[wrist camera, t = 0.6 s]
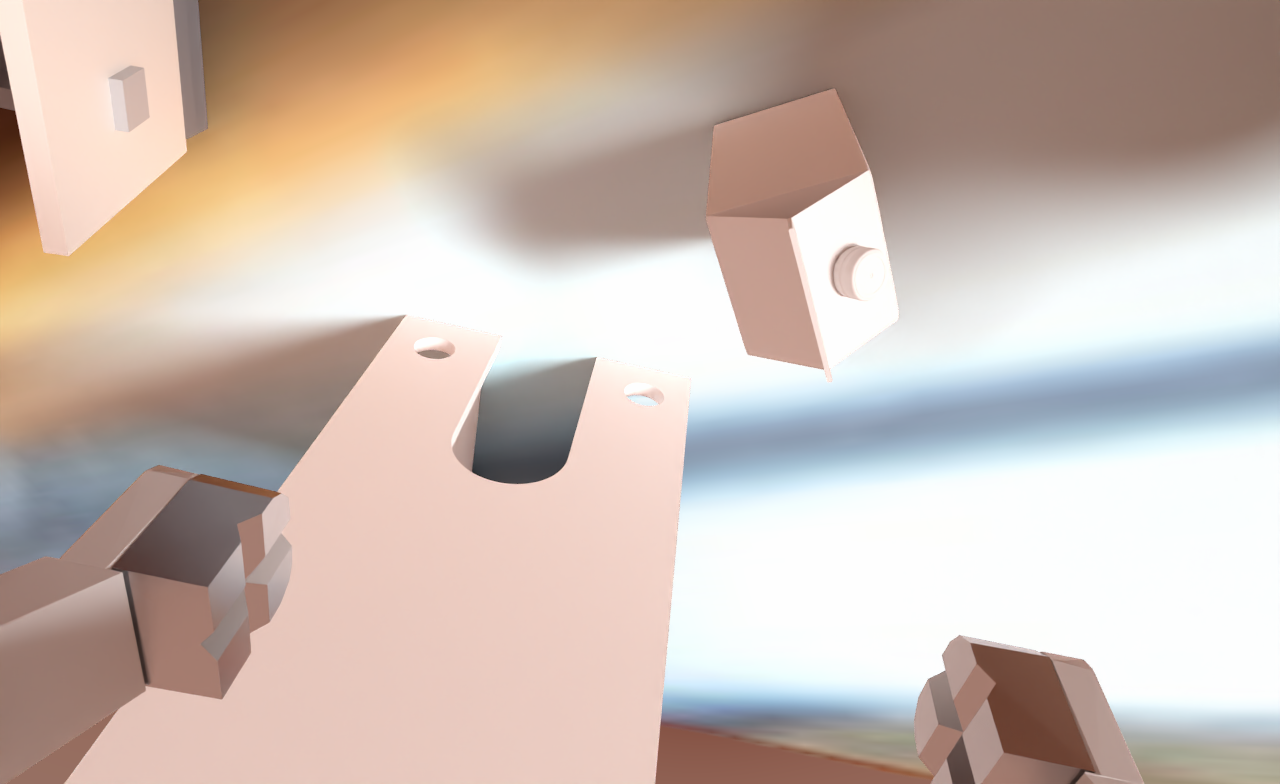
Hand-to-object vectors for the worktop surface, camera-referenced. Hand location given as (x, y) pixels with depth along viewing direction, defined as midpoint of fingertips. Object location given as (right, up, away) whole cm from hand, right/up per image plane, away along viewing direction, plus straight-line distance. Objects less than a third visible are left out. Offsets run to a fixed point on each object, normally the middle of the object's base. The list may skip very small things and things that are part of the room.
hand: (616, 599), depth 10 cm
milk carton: (+9, +16, +40) cm, 44 cm away
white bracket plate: (-7, 0, +52) cm, 52 cm away
